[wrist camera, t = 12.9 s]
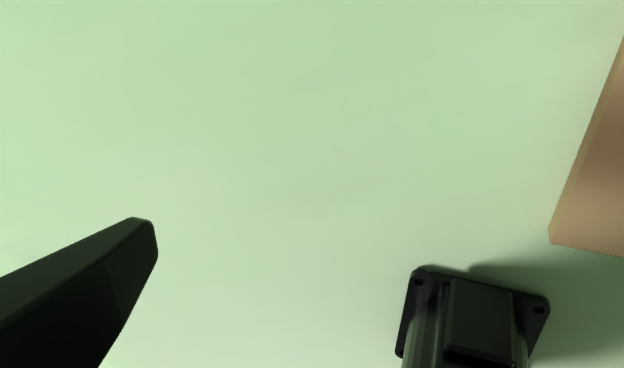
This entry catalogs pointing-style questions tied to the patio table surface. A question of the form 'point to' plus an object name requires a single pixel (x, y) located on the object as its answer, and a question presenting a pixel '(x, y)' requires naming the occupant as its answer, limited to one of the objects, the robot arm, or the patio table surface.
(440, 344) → the robot arm
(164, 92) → the patio table surface
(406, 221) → the patio table surface
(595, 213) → the chuck stand
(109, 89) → the patio table surface
